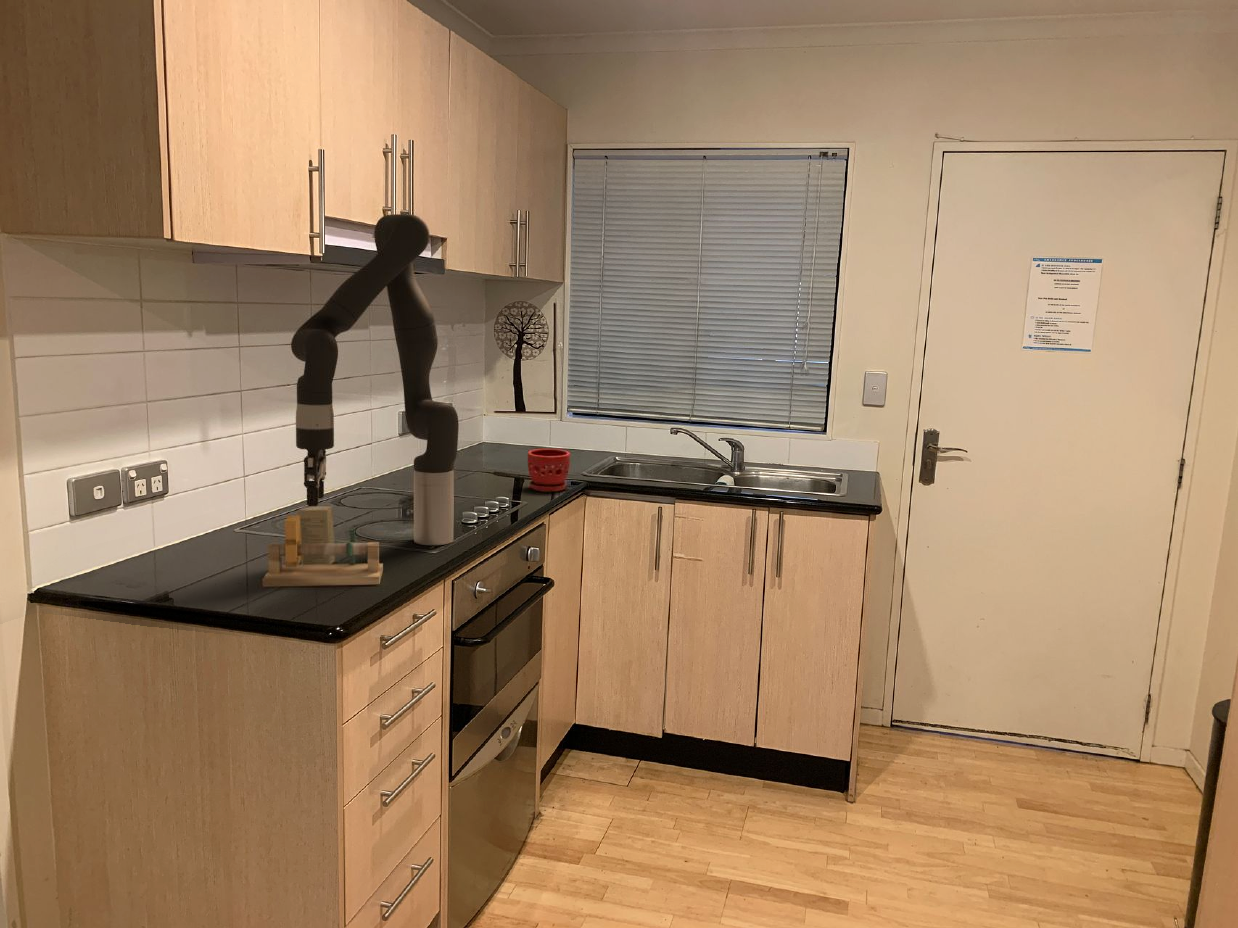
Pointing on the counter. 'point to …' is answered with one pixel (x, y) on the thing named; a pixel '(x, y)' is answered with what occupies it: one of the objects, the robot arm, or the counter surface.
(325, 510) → the skincare box
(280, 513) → the counter surface
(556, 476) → the plant pot
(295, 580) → the pipe rig
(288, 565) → the orange block
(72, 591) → the counter surface
